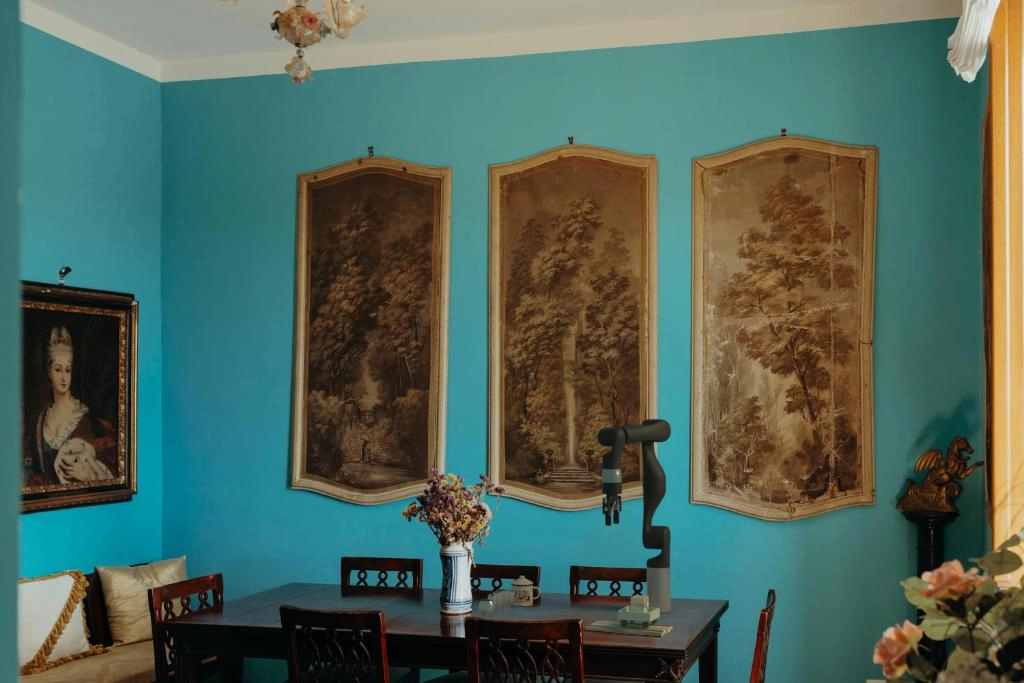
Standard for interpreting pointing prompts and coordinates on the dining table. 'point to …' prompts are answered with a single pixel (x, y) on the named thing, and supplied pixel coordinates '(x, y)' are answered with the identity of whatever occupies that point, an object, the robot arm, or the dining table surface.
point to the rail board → (629, 628)
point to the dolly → (638, 616)
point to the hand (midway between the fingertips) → (612, 524)
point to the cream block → (640, 604)
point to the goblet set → (497, 603)
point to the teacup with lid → (523, 592)
